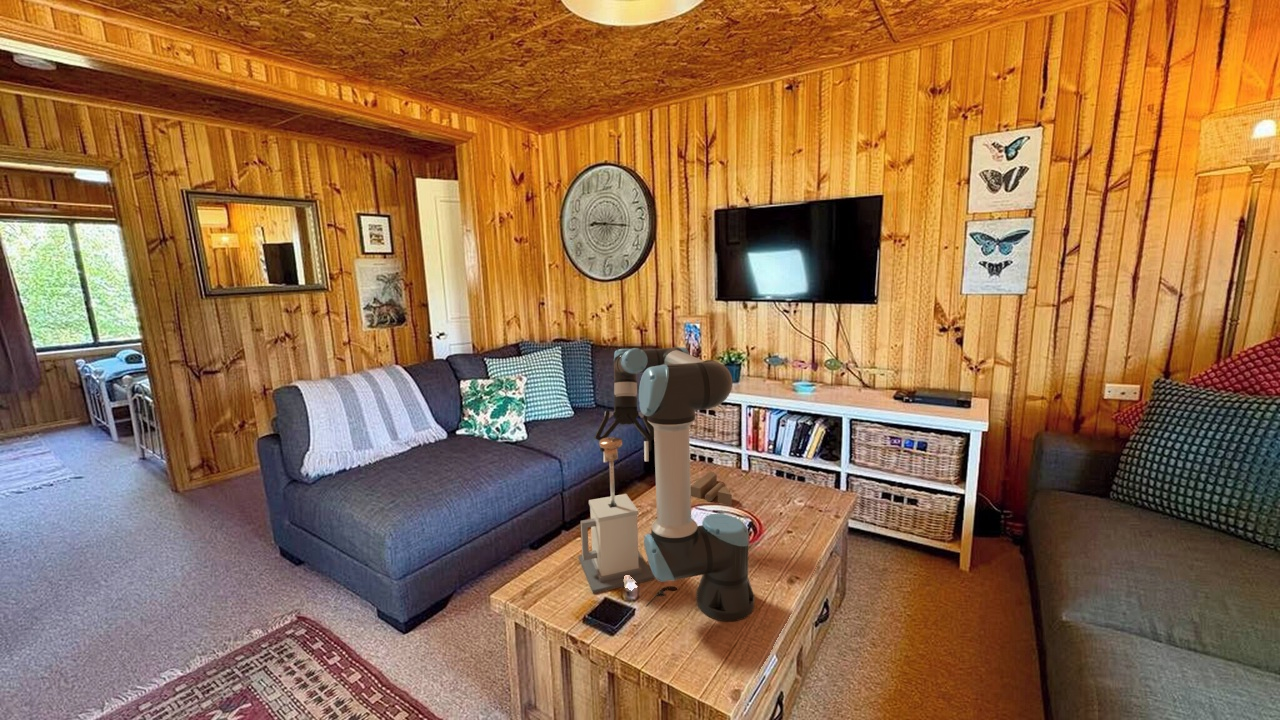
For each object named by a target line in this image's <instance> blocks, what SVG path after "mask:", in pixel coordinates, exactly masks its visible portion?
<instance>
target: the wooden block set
mask: <svg viewBox="0 0 1280 720" xmlns="http://www.w3.org/2000/svg"><path fill="white" fill-rule="evenodd" d="M717 477H718V476H717V474H716V473H715V472H714V471H711V470H710V471H708V472H707V473H706V474H705V475H703V476H702V477H699V478H698V479H697V480H696V481H694V483H692V484H690V486H691V497H693V498H697V499H703V497H704V499H705V500H706V501H707V502H713V500H714V499H715V498H717V504H722V505H725V506H729V507H730V506H731V507H732V493H731V492H730V491H729V489H728V487H727V486H726V484H725V483H723V482H718V483H717V481H718V480H717Z"/></svg>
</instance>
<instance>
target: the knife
mask: <svg viewBox="0 0 1280 720" xmlns="http://www.w3.org/2000/svg"><path fill="white" fill-rule="evenodd" d="M667 591H670V592H676V591H678V587H676V586H664V587H662V588H661V589H659V590H658V591H657V592H656V594H655V596H654V597H653V598H652V599H650V601H649V602H648V603H647V604H646V605H645V607H648V606H649V605H650V604H651V603H652V602H653V601H654V600H655V599H656V598H659V597H666V596H667V594H666V593H664V592H667Z"/></svg>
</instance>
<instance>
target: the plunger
mask: <svg viewBox="0 0 1280 720" xmlns="http://www.w3.org/2000/svg"><path fill="white" fill-rule="evenodd" d="M598 441H599V440H598ZM598 446H599V448H600V447H601V448H604V449H605V460H607V462H609V463H608V464H609V491H610V496H611V508H612V507H615V496H616V495H615V493H616V492H615V491H616V490H615V468H614V467H615V465H614V464H615V463H614V461H617V460H618V459H619V456H618V449H620V448H621V447H622V446H623V440H622V438H620V437H616V436H615V437H614V436H610V437H609V436H608V437H607V438H603V439H601V440H600V441H599V445H598Z"/></svg>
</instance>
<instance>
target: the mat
mask: <svg viewBox="0 0 1280 720" xmlns="http://www.w3.org/2000/svg"><path fill="white" fill-rule="evenodd" d="M578 560H579V564H580V566H581V568H582V570H583V573H584V575H585V577H586V579H587V582H588V585H589V587H590V591H591V593H592V594H596V593H600V592H605V591H611V590H614V589H618V588H622V587H625V586H624V582H623V579H624V577H621V578H616V579H612V580H608V581H603V582H600V581H599V579H598V576H597V574H596V572H595V570H594V567H593V565H592V563H591V561H590V560H585V561H584V560H583V558H582V554H581V555H578ZM638 564H639V565H640V567H641V569H642V573H638V574H634V575H630V576H631V577H632V578H633V579H634V580H635V581H636V582H637V583H636V584H640V583H644V582H649V581H652V580H655V577H654V575H653V573H652V571H651V568H650V566H649V565H648V564H647V562H646V561H645V559H644V557H643V556H642V554H641V552H640V551H639V550H638ZM632 578H631V579H632Z"/></svg>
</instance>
